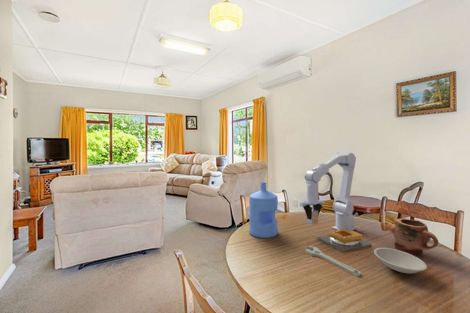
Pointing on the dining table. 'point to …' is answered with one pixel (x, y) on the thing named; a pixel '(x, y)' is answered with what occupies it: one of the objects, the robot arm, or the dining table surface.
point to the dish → (400, 260)
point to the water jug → (263, 213)
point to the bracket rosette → (345, 240)
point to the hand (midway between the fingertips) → (312, 218)
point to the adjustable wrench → (332, 260)
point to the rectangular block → (313, 217)
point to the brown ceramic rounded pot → (412, 236)
